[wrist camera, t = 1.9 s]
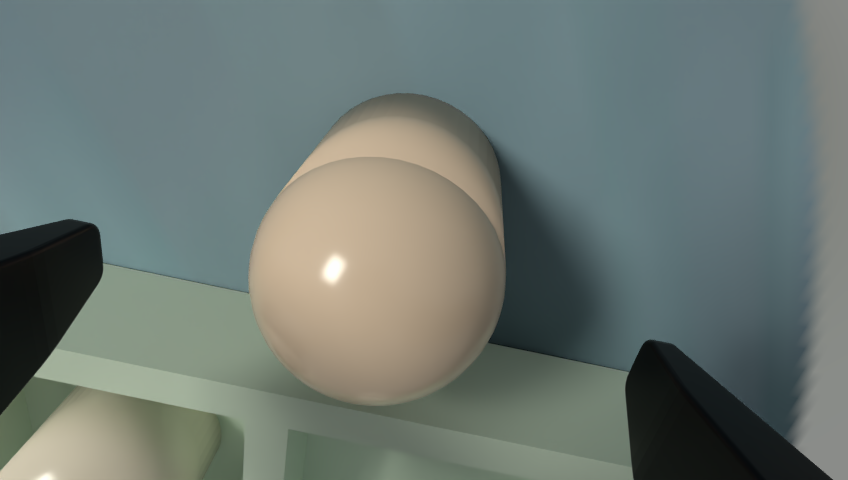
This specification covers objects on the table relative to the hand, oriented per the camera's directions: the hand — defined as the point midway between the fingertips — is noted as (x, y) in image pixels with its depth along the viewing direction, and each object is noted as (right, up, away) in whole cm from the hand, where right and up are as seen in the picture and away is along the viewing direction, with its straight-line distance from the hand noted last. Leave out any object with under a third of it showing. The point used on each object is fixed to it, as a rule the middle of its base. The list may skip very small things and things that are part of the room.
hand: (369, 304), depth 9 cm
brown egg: (+1, +2, +4) cm, 5 cm away
